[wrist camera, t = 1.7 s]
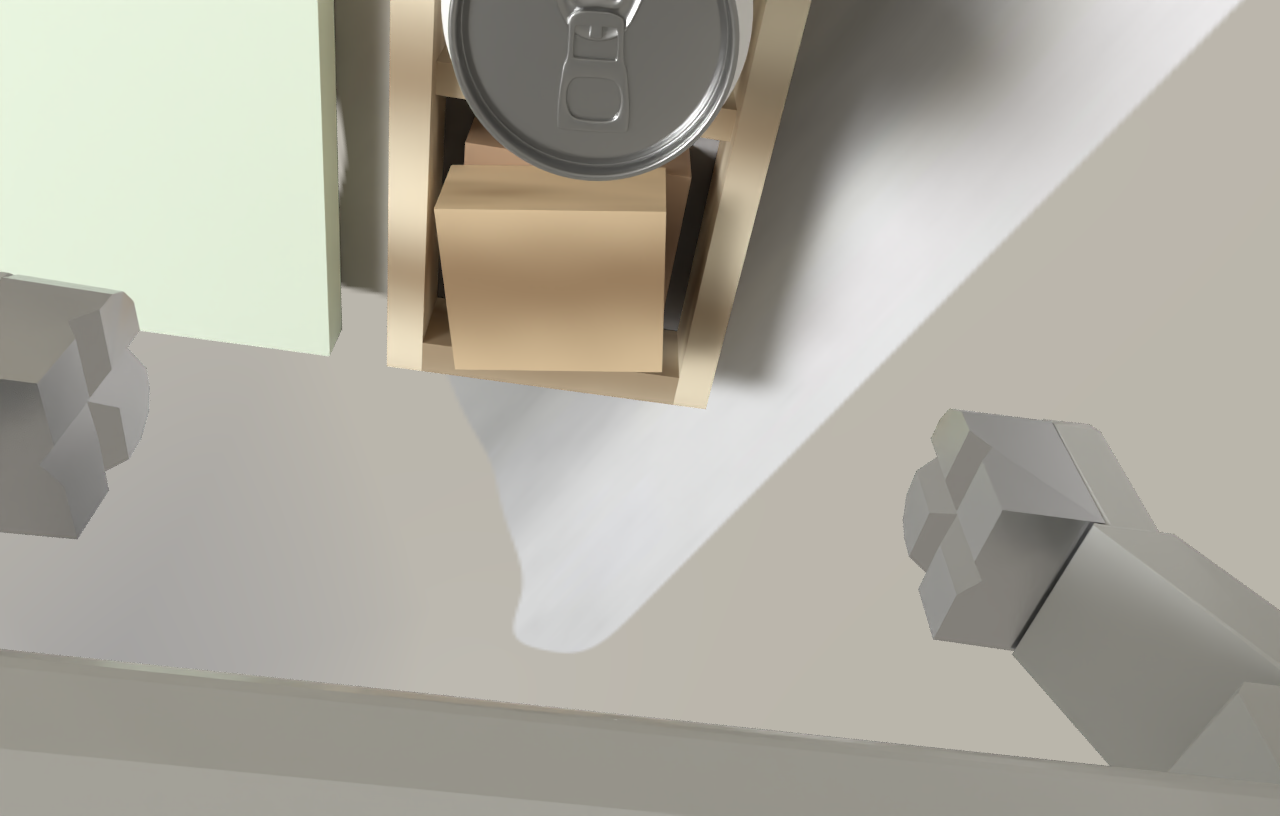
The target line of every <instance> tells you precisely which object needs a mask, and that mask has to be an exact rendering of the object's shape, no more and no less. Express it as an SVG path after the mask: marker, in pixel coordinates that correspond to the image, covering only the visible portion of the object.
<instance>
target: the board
mask: <svg viewBox="0 0 1280 816" xmlns="http://www.w3.org/2000/svg"><path fill="white" fill-rule="evenodd" d="M337 151H338V150H337V110H336V69H335V29H334V0H0V272H6V273H10V274H13V275H17V274H19V275H25V276H31V277H37V278H44V279H50V280H56V281H62V282H68V283H75V284H81V285H87V286H93V287H100V288H106V289H112V290H118V291H124V292H125V293H126V294H127V295H128V296H129V297H130V298H131V299H132V300H133V301H134V304H135V309H136V314H137V318H138V323H139V328H140V331H147V332H154V333H161V334H169V335H176V336H183V337H191V338H198V339H205V340H213V341H220V342H228V343H235V344H243V345H250V346H257V347H265V348H272V349H280V350H287V351H294V352H302V353H309V354H317V355H324V356H330V355H331V352H332V350H333V348H334V345H335V343H336V341H337V339H338V337H339V334H340V332H341V330H342V313H341V271H340V231H339V191H338V152H337Z"/></svg>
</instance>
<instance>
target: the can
mask: <svg viewBox="0 0 1280 816" xmlns="http://www.w3.org/2000/svg"><path fill="white" fill-rule="evenodd" d="M441 14H442V24H443V31H444V36H445V41H446V45H447V48H448V52H449V55H450V58H451V61H452V65H453V68H454V72H455V75H456V78H457V81H458V83H459V86H460V88H461V91H462V93H463V95H464V97H465V99H466V101H467V103H468V104H469V106H470V108H471V109H472V111H473V113H474V114H475V116H476V117H477V118H478V120H479V121H480V122H481V124H482V125H483V126H484V127H485V128H486V130H487V131H488V132H489V133H490V134H491V135H492V136H493V137H494V138H495V139H496V140H497V141H498V142H499V143H500V144H501V145H503V146H504V147H505V148H506V149H508V150H509V151H510V152H512V153H513V154H514V155H516V156H517V157H519V158H520V159H522V160H524V161H525V162H527V163H529V164H531V165H533V166H535V167H537V168H539V169H542V170H544V171H547V172H549V173H552V174H555V175H559V176H562V177H567V178H571V179H577V180H586V181H610V180H619V179H625V178H630V177H634V176H637V175H641V174H644V173H647V172H649V171H652V170H654V169H656V168H659V167H661V166H662V165H664V164H666V163H668V162H670V161H671V160H673V159H675V158H676V157H678V156H679V155H680V154H682V153H683V152H684V151H686V150H687V149H688V148H689V147H690V146H692V145H693V144H694V143H695V142H696V141H697V140H698V139H699V138H700V137H701V136H702V135H703V133H704V132H705V131H706V130H707V129H708V127H709V126H710V125H711V123H712V122H713V121H714V119H715V118H716V116H717V115H718V113H719V111H720V110H721V108H722V106H723V105H724V103H725V102H726V100H727V99H728V97H729V96H730V94H731V92H732V91H733V89H734V87H735V85H736V83H737V81H738V79H739V76H740V74H741V71H742V69H743V66H744V63H745V60H746V57H747V53H748V49H749V44H750V39H751V32H752V22H753V0H441Z"/></svg>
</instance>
